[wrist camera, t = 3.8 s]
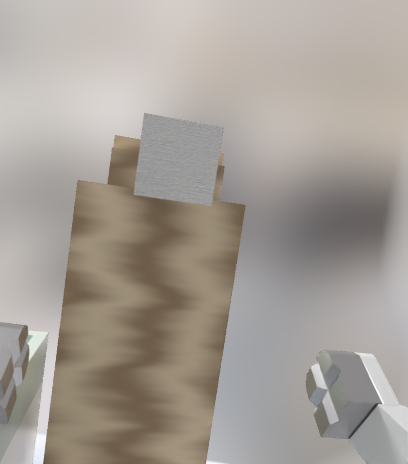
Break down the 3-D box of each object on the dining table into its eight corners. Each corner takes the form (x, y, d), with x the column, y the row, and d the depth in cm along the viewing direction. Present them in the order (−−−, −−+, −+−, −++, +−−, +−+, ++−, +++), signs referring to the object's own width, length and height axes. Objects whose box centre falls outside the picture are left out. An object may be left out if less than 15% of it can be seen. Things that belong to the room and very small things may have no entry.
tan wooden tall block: (34, 533, 28) (83, 127, 26) (47, 491, 32) (91, 136, 30) (195, 532, 30) (252, 156, 28) (188, 493, 34) (239, 161, 32)
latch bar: (133, 194, 19) (144, 113, 19) (137, 187, 30) (144, 135, 29) (211, 206, 20) (223, 127, 19) (187, 194, 31) (195, 144, 30)
